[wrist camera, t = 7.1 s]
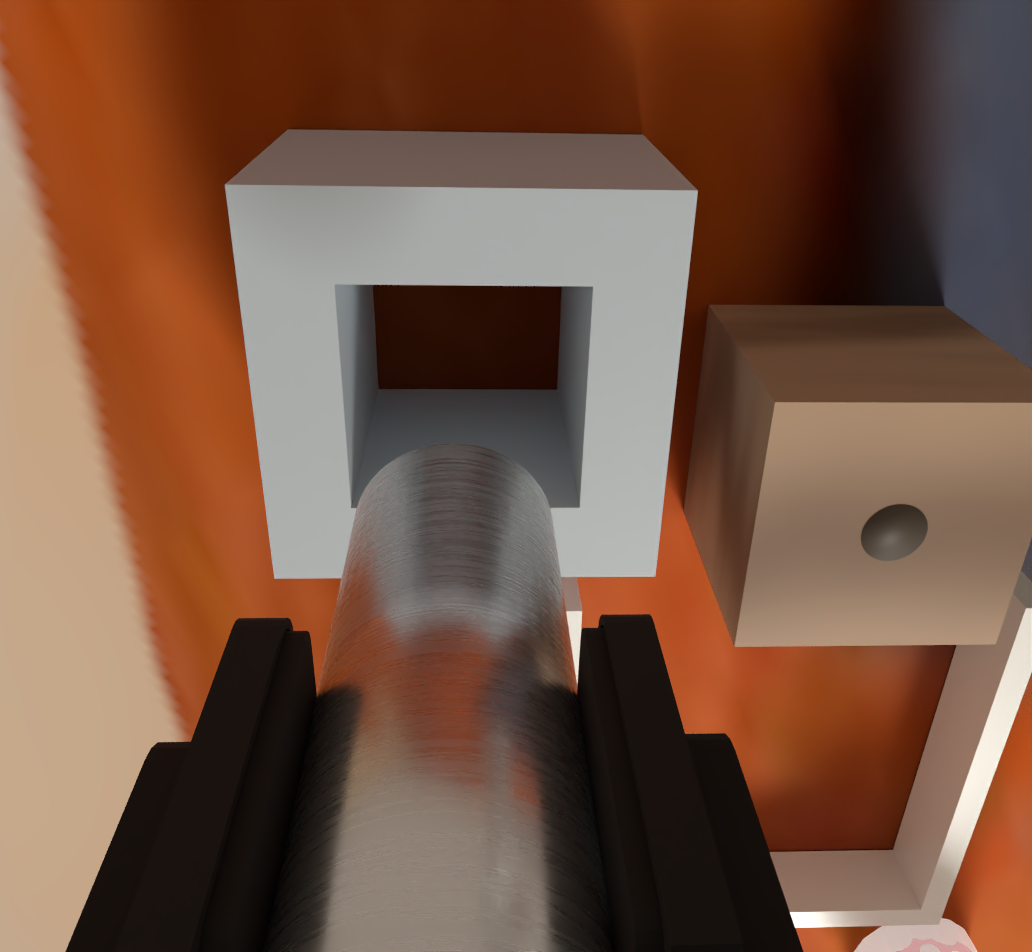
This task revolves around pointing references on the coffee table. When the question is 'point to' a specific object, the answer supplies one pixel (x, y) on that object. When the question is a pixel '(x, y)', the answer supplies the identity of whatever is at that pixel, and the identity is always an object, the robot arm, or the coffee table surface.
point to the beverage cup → (918, 939)
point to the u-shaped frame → (914, 791)
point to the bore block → (468, 262)
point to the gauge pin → (446, 731)
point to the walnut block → (859, 475)
